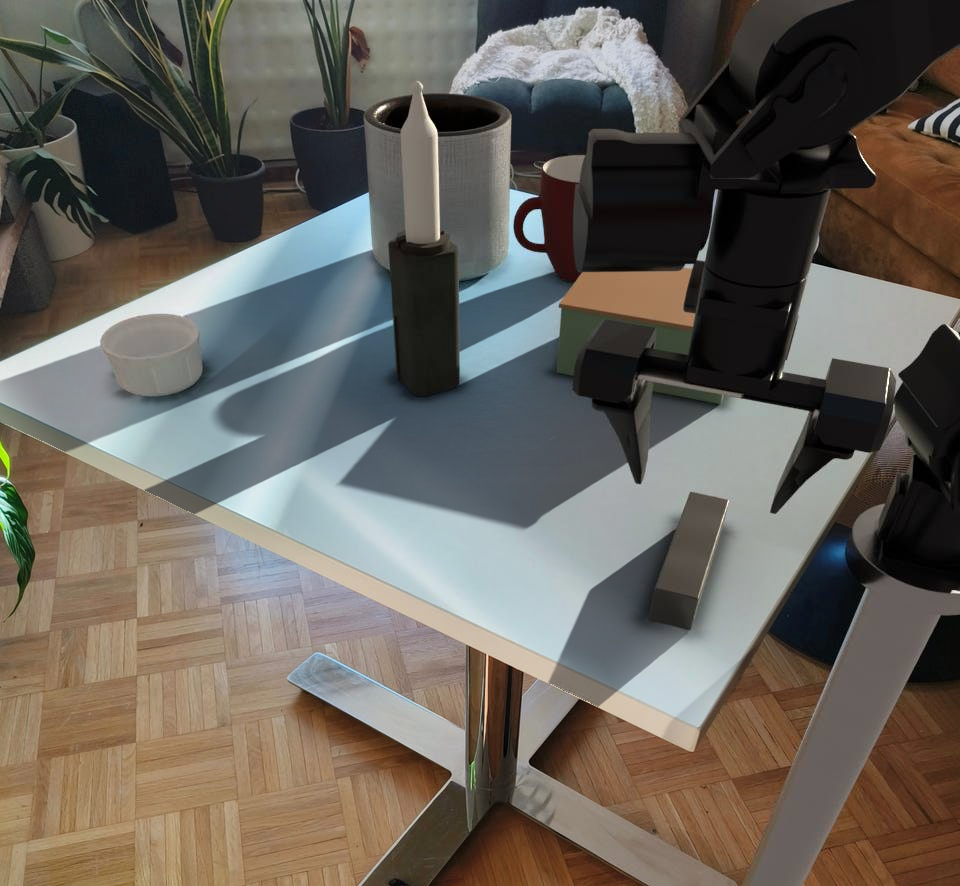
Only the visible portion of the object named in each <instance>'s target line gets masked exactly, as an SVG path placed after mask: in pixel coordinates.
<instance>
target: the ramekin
mask: <svg viewBox="0 0 960 886" xmlns="http://www.w3.org/2000/svg"><path fill="white" fill-rule="evenodd" d="M200 340H201V332H200V328H199V326H198V325H197V324H196V322H195V321H193V320H191V319H190V318H187V317H185V316H181V315H178V314H173V313H148V314H141V315H137V316H133V317H129V318H126V319H124V320H121V321H119V322H117V323H115V324H113V325H112V326H110V327H109V328H108V329H106V330H105V331H104V332H103V334H102V335H101V338H100V341H99V343H100V347H101V349H102V352H103V353H104V355H106V357H107V360H108V363H109V364H110V367H111V370H112V373H113V374H114V378H115V380H116V382H117V383H118V385H119V386H120V388H121V389H123V390H124V391H127V392H128V393H131V394H133V395H137V396H140V397H141V396H142V397H164V396H168V395H173V394H177V393H180V392H182V391H185V390H187V389H188V388H190V387H192V386H193V385H194V384H195V383H196V382H198V381H199V379H200V378H201V376H202V375H203V371H204V369H203V368H204V367H203V358H202V351H201V344H200Z"/></svg>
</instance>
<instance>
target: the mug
mask: <svg viewBox="0 0 960 886" xmlns="http://www.w3.org/2000/svg"><path fill="white" fill-rule="evenodd" d="M585 156H586V154H573V155H565V156H558V157H555V158H551V159H549V160H547V161H546V162H544V163H543V164H542V167H541V173H540V174H541V177H540V185H539V194H538V196H532V197H530V198H527V199H526V200H524V201H523V202H522V203H521V204H520V205H519V207H518V208H517V210H516V212H515V215H514V217H513V233H514V237H515V240H516V241H517V243H518V244H519V245H520V246H521V247H522V248H524V249H526V250H528V251H530V252H534V253H538V254H539V253H541V254H546V256H547V257H548V259H549V262H550V264H551V266H552V268H553V270H554V272H555V275H556V276H557V277H558V278H559V279H561V280H562V281H565V282H569V283H575V281H576V280H577V279H578V277H579V276H580V275H581V273H582V272H578V271H577V269H576V264H575V258H574V243H573V214H574V195H575V185H576V184H579V181H580V174H581V168H582V164H583V160H584V157H585ZM537 210H540V213H541V220H542V229H543V242H544V243H537V242H532V241H530V240H529V239H528V238H527V237H526V235H525V233H524V232H525V231H524V225H525V220H526V218H527V216H528V215H529V214H530V213H531V212H533V211H537Z"/></svg>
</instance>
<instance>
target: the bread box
mask: <svg viewBox="0 0 960 886" xmlns="http://www.w3.org/2000/svg"><path fill="white" fill-rule="evenodd" d="M691 272H692V268H688V267H683V268H682V270H680V271H647V272H582V273H581V275H580V276H579V277H578V279H577V280H576V281H575V282H573V284H572V285H571V287H570V288H569V289H568V291H567V292H566V293H565V294H564V296H563V297H562V299H561V300H560V302H559V303H558V308H559V309H560V310H561V311H560V322H559V323H560V324H559V335H558V337H559V338H558V347H557V349H558V350H557V360H556V361H557V362H556V363H557V364H556V373H557V374H561V375H567V376H571V377H573V376H574V366H575V362H576V359H577V355H578V353H579V351H580V350H581V348H582V347H583V345H584V343H585V342H586V340H587V339H588V337H589V336H590V334H591V333H592V331H593V330H594V328H595V327H596V326H597V325H598V324H600V323H601V322H602V321H603V320H604V319H608V320H614V321H620V322H626V323H632V324H637V325H643V326H649V327H655V328H656V333H657V337H656V344H655V349H658V350H663V351H669V352H674V353H680V354H686V355H688V352H689V346H690V341H691V335H692V330H693V324H694V318H695V314H694V313H688V312H684V310H683V307H684V301H685V296H686V291H687V287H688V283H689V279H690V276H691ZM652 392H655V393H658V394H659V393H660V394H665V395H670V396H674V397H675V396H676V397H680V398H686V399H692V400H697V401H702V402H706V403H711V404H717V405H721V404H722V402H723V399H724V397H725V395H720V394H715V393H709V392H704V391H699V390H693V389H688V388H683V387H677V386H672V385H667V384H662V383H656V382H654V384H653V390H652Z"/></svg>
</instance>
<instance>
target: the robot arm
mask: <svg viewBox="0 0 960 886" xmlns="http://www.w3.org/2000/svg"><path fill="white" fill-rule="evenodd" d="M957 48H960V0H757V1H756V2H755V3H754V4H753V5H752V6H751V7H750V8H749V9H748V11H746V13H745V14H744V16H743V18H742V22H741V24H740V25H739V28H738V30H737V32H736V35H735V36H734V39H733V40H732V45H731V49H730V55H729V58H728V59H727V60H726V61H725V63H724V64H723V65H722V66H721V68H720V69H719V70H718V72H717V73H716V74H715V75H714V76H713V77H712V79H711V80H710V81H709V82H708V83H707V85H705V88H704V89H702V91H701V92H700V93H699V95H698V96H697V97H696V99H694V101H693V102H692V104H691V105H690V106H689V107H688V108H687V110H685V112H684V113H683V114H682V116H681V117H680V118H679V121H678V128H679V129H680V130H681V132H627V131H624V130H620V129H616V128H592V129H591V130H590V131H589V132H588V135H587V147H586V154H585V155H586V156H585V157H584V160H583V164H582V168H581V174H580V181H579V184H576V185H575V195H574V214H573V243H574V258H575V264H576V269H577V271H578V272H647V271H680V270H682V268H685V267H686V265H692V268H691V269H692V272H691V276H690V279H689V283H688V287H687V291H686V296H685V301H684V307H683V310H684V312H688V313H694V314H695V318H694V324H693V330H692V335H691V341H690V346H689V352H688V355H686V354H680V353H674V352H669V351H663V350H658V349H655V344H656V337H657V333H656V328H655V327H649V326H643V325H637V324H632V323H626V322H620V321H614V320H608V319H604V320H603V321H602V322H601V323H600V324H598V325H597V326H596V327H595V328H594V330H593V331H592V333H591V334H590V336H589V337H588V339H587V340H586V342H585V343H584V345H583V347H582V348H581V350H580V351H579V353H578V355H577V359H576V362H575V366H574V376H572V387H571V388H572V389H571V390H572V391H573V392H574V393H575V395H577V397H583V398H588V399H591V408H592V409H593V410H595V411H597V412H602V413H603V414H604V415H605V416H606V418H607V420H608V422H609V424H610V426H611V428H612V429H613V431H614V433H615V435H616V437H617V439H618V440H619V441H618V442H619V443H620V445H621V448H622V450H623V453H624V456H625V458H626V462H627V464H628V467H629V470H630V473H631V475H632V478H633V481H634V483H635V484H636V485H642V482H643V481H644V479H645V476H646V470H647V465H648V458H649V445H650V444H649V443H650V422H651V421H650V420H651V402H652V396H653V391H652V390H653V384H654V382H656V383H662V384H667V385H672V386H677V387H683V388H688V389H693V390H699V391H704V392H709V393H715V394H720V395H724V397H730V398H737V399H743V400H748V401H753V402H757V403H758V402H759V403H762V404H763V403H764V404H768V405H774V406H779V407H783V408H784V407H785V408H791V409H795V410H799V411H800V410H801V411H805V412H808V414H807V416H806V419H805V422H804V424H803V426H802V429H801V432H800V434H799V436H798V439H797V441H796V443H795V445H794V447H793V450H792V451H791V454H790V456H789V458H788V461H787V463H786V465H785V467H784V469H783V472H782V474H781V477H780V478H779V481H778V483H777V485H776V488H775V491H774V496H773V499H772V503H771V507H770V509H769V510H770V511H769V513H770V514H773V515H776V514H778V512H779V511H780V510H781V509H782V508H783V507H784V506H785V505H786V504H787V503H788V501H789V500H790V499H791V498H792V497H793V496H794V495H795V494H796V493H797V491H799V489H801V487H802V486H803V485H804V484H805V483H806V482H808V480H810V478H811V477H813V476H814V475H815V474H817V473H818V472H819V471H820V470H821V469H823V468H824V467H825V466H827V465H828V464H829V463H830V462H832V461H833V460H835V459H838V460H850V459H852V458H853V456H854V454H855V451H857V452H862V453H866V454H870V453H874V452H878V451H880V450H881V448H882V445H883V443H884V440H885V437H886V435H887V431H888V430H889V427H890V423H891V420H892V416H893V413H894V417H895V420H896V421H897V423H898V425H899V426H900V428H901V429H902V430H903V432H904V439H905V443H906V444H907V446H908V447H910V448H911V449H912V451H913V452H914V453H915V454H913V456H912V457H911V461H910V463H909V466H908V468H907V471H906V473H903V472H900V473H898V474H896V475H895V478H894V480H893V483H892V485H891V488H890V490H889V493H888V495H887V498H886V500H885V503H884V504H885V505H884V507H883V510H882V512H881V515H880V518H879V526H878V535H877V536H878V538H879V539H881V540H882V544H881V554H880V558H881V560H882V561H884V562H886V563H890V564H895V565H899V566H903V567H908V568H912V569H917V570H921V571H926V572H930V573H934V574H939V575H943V576H948V577H952V578H956V579H960V331H958V332H957V331H956V330H955V329H953V328H952V327H951V326H949V325H948V324H946V323H943V324H941V325H939V326H938V327H937V328H936V329H935V330H934V331H932V333H931V334H930V336H929V338H928V340H927V342H926V343H925V344H924V346H923V348H922V350H921V351H920V353H919V355H917V357H915V359H914V360H913V361H912V362H911V363H910V364H909V365H908V366H906V367H905V368H903V369H902V370H901V371H900V372H898V375H897V376H898V377H899V379H900V380H901V381H902V382H901V384H900V385H899V387H898V389H897V388H896V387H897V386H896V385H897V379H896V377H895V374H894V373H893V372H892V370H891V367H887V366H886V367H885V366H880V365H874V364H869V363H862V362H857V361H851V360H845V359H839V358H833V357H832V358H831V360H830V364H829V366H828V369H827V372H826V376H825V378H819V377H814V376H809V375H803V374H797V373H791V372H786V371H784V368H785V365H786V361H788V358H789V355H790V351H791V347H792V344H793V339H794V336H795V332H796V328H797V324H798V321H799V311H800V308H801V303H802V300H803V297H804V292H805V288H806V284H807V281H808V278H809V273H810V269H811V266H812V263H813V259H814V254H815V251H816V247H817V244H818V239H819V236H820V231H821V228H822V224H823V221H824V217H825V213H826V210H827V207H828V206H827V205H828V202H829V198H830V193H831V190H867V189H870V188H872V187H873V186H874V185H875V184H876V182H877V179H878V177H877V174H876V172H874V171H873V170H872V169H871V167H870V166H869V165H868V164H867V162H866V160H865V159H864V158H863V155H862V152H861V151H860V149H859V143H858V140H857V137H856V135H855V134H854V133H852V130H854V129H855V128H857V127H858V126H860V125H861V124H864V123H865V122H866V121H868V120H869V119H870V118H872V117H874V116H875V115H876V114H878V113H879V112H881V111H883V110H884V109H886V108H887V107H889V106H890V105H892V104H894V103H895V102H896V101H898V100H899V99H900V98H901V97H902V96H903V95H904V94H905V93H906V92H907V91H908V90H909V89H910V88H911V87H912V86H913V85H914V84H915V83H916V82H917V81H918V79H919V78H920V77H921V76H922V75H923V74H924V73H926V71H927V70H928V69H929V68H930V67H931V66H932V65H934V64H935V63H936V62H938V61H940V60H941V59H942V58H944V57H945V56H947V55H949V54H950V53H952V52H953V51H954V50H956V49H957ZM747 115H748V116H747ZM746 116H747V117H746ZM744 117H746V118H745V119H744V120H743V121H742V123H740V125H738V124H737V123H736V122H738V121H739V120H741V119H742V118H744ZM716 191H717V194H715V193H716ZM715 195H716V198H715ZM714 200H715V204H714ZM713 209H714V211H713ZM707 242H708V243H707ZM706 245H707V248H706V254H705V260H700V259H698V257H699V254H700V252H701V251H702V250H703V249H704V248H705V247H706ZM896 389H897V390H896Z"/></svg>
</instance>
